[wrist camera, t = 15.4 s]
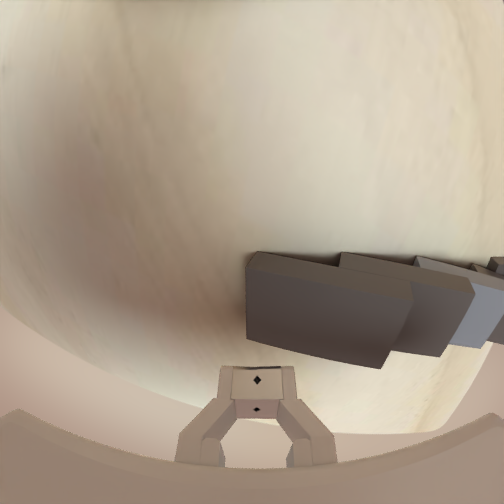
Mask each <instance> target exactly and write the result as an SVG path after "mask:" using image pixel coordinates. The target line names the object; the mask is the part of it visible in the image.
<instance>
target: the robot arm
mask: <svg viewBox="0 0 504 504" xmlns="http://www.w3.org/2000/svg"><path fill="white" fill-rule="evenodd" d="M256 417H257V418H260V419H276V420H277V421H278V423H279V424H280V426H281V427H282V428H283V430H284V431H285V432H286V434H287V435H288V437H289V438H290V439H291V441H292V442H293V444H292V446H291V449H290V451H289V453H288V456H287V458H286V463H287V468H267V469H253V468H252V469H250V468H227V467H225V456H224V452H223V449H222V446H221V443H220V441H221V439H222V438H223V437H224V435H225V434H226V433H227V432H228V430H229V429H230V428H231V426H232V425H233V424H234V422H235V421H236V420H237V418H256ZM0 504H504V419H502V418H501V417H499V416H498V415H496V414H494V413H489V414H486V415H484V416H483V417H480V418H479V419H476V420H475V421H472V422H470V423H468V424H466V425H464V426H462V427H459V428H457V429H455V430H453V431H450V432H448V433H445V434H443V435H440V436H437V437H435V438H432V439H429V440H427V441H424V442H421V443H418V444H415V445H412V446H408V447H405V448H402V449H398V450H395V451H391V452H387V453H383V454H379V455H375V456H371V457H367V458H361V459H356V460H351V461H345V462H339V463H338V462H337V454H336V447H335V441H334V435H333V434H332V433H331V432H330V431H329V429H328V428H327V427H326V426H325V425H324V424H323V423H322V422H321V421H320V420H319V419H318V418H317V417H316V415H315V414H314V413H313V412H312V411H311V410H310V409H309V408H308V407H307V406H306V404H305V403H304V402H303V401H302V400H301V399H297V392H296V382H295V372H294V367H293V366H284V367H281V366H270V367H240V366H221V368H220V375H219V384H218V392H217V398H213V399H212V400H211V401H210V402H209V404H208V405H207V406H206V407H205V408H204V409H203V410H202V411H201V412H200V413H199V414H198V415H197V416H196V417H195V418H194V419H193V420H192V421H191V422H190V423H189V424H188V426H186V428H185V429H183V430H182V431H181V432H180V434H179V439H178V444H177V451H176V455H175V461H168V460H163V459H158V458H153V457H148V456H144V455H140V454H136V453H132V452H128V451H124V450H121V449H117V448H114V447H110V446H107V445H104V444H101V443H98V442H95V441H92V440H89V439H86V438H83V437H81V436H78V435H76V434H73V433H71V432H68V431H66V430H63V429H61V428H59V427H57V426H54V425H52V424H50V423H48V422H46V421H43V420H41V419H39V418H37V417H35V416H33V415H32V414H30V413H28V412H26V411H24V410H21V409H16V410H13V411H11V412H10V413H8V414H6V415H4V416H3V417H1V418H0Z"/></svg>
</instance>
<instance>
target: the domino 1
mask: <svg viewBox="0 0 504 504" xmlns="http://www.w3.org/2000/svg"><path fill="white" fill-rule="evenodd" d="M413 301H414V300H413V294H412V289H411V284H410V281H406V280H401V279H396V278H391V277H386V276H381V275H376V274H371V273H365V272H360V271H355V270H350V269H345V268H340V267H335V266H330V265H325V264H320V263H314V262H309V261H304V260H299V259H294V258H289V257H284V256H279V255H273V254H268V253H263V252H258V251H257V253H256V254H255V255H254V257H253V258H252V259H251V261H250V262H249V263H248V265H247V266H246V335H247V339H249V340H252V341H256V342H259V343H263V344H267V345H270V346H274V347H278V348H282V349H286V350H290V351H294V352H298V353H302V354H306V355H311V356H315V357H319V358H324V359H329V360H333V361H338V362H343V363H348V364H353V365H359V366H364V367H370V368H376V369H381V368H382V366H383V364H384V362H385V361H386V359H387V357H388V355H389V353H390V351H391V349H392V347H393V345H394V343H395V341H396V339H397V337H398V335H399V333H400V331H401V329H402V327H403V324H404V322H405V320H406V318H407V315H408V313H409V311H410V309H411V306H412V304H413Z"/></svg>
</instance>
